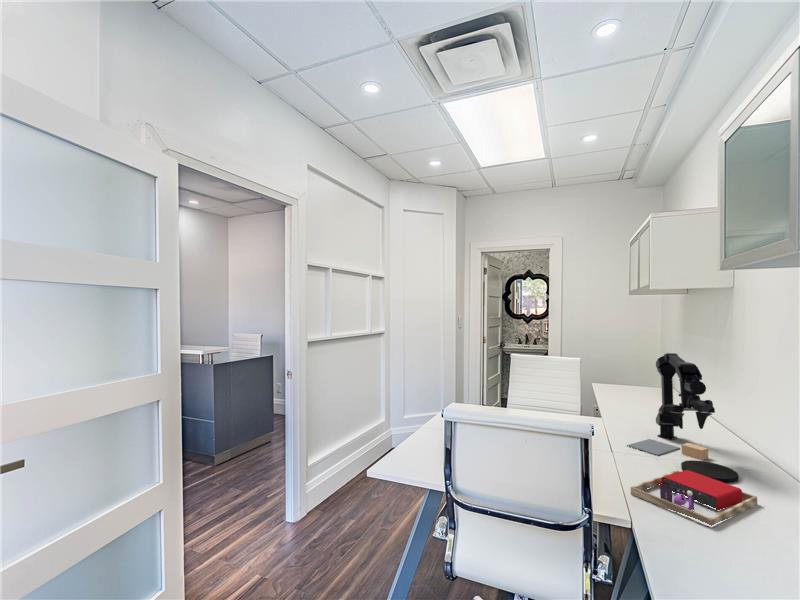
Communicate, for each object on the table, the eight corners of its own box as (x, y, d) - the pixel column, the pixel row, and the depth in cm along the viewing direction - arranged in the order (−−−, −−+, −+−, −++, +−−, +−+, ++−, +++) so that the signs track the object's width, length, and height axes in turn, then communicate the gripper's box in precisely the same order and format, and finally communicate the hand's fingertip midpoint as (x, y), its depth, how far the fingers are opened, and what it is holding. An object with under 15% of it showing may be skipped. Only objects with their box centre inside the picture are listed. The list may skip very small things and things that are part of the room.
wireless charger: (742, 474, 153) (741, 469, 153) (734, 488, 141) (733, 483, 141) (687, 461, 167) (687, 457, 167) (676, 473, 155) (675, 468, 155)
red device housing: (661, 489, 141) (661, 476, 142) (685, 482, 147) (685, 469, 147) (717, 513, 125) (717, 497, 125) (742, 503, 131) (742, 488, 131)
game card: (660, 484, 131) (693, 490, 126) (659, 483, 135) (691, 490, 130) (660, 506, 129) (694, 513, 124) (660, 505, 133) (693, 512, 128)
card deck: (688, 452, 176) (687, 442, 176) (708, 458, 169) (708, 448, 169) (681, 454, 174) (681, 444, 174) (702, 460, 167) (701, 450, 167)
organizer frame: (677, 476, 151) (677, 470, 151) (757, 504, 129) (757, 496, 130) (630, 494, 138) (630, 487, 138) (711, 528, 116) (711, 520, 116)
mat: (649, 440, 193) (649, 438, 193) (680, 448, 180) (680, 447, 180) (627, 446, 185) (626, 445, 185) (657, 456, 172) (657, 454, 172)
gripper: (683, 394, 162) (686, 432, 160) (724, 394, 163) (728, 432, 161) (663, 391, 173) (665, 427, 171) (702, 391, 174) (705, 427, 172)
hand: (691, 428), depth 168 cm, fingers open, 9 cm apart
